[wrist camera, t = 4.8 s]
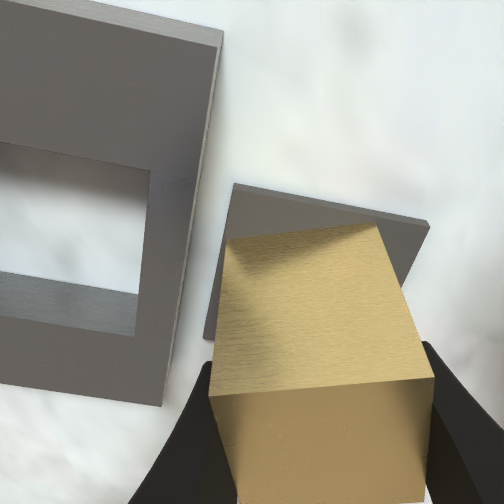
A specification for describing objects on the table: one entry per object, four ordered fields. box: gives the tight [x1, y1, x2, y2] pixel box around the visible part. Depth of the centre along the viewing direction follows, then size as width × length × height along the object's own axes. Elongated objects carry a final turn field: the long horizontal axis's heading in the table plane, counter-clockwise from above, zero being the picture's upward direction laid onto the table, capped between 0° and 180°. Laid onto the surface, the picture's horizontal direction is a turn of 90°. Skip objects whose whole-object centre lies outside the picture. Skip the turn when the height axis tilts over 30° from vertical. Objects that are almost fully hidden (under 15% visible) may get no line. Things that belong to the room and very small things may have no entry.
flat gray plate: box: [203, 183, 430, 340], centre depth 16 cm, size 6×6×1 cm
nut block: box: [208, 222, 435, 504], centre depth 13 cm, size 4×4×6 cm
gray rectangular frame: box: [0, 0, 224, 407], centre depth 14 cm, size 8×12×2 cm, turn 168°
